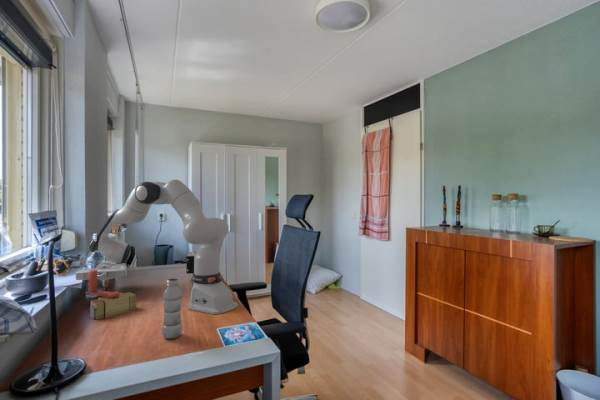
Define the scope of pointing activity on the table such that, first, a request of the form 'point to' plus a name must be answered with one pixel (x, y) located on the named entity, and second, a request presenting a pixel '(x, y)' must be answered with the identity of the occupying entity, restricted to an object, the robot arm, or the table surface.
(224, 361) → the table surface
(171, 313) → the plastic bottle
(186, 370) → the table surface
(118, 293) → the lever
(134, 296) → the olive yellow box
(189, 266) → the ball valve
